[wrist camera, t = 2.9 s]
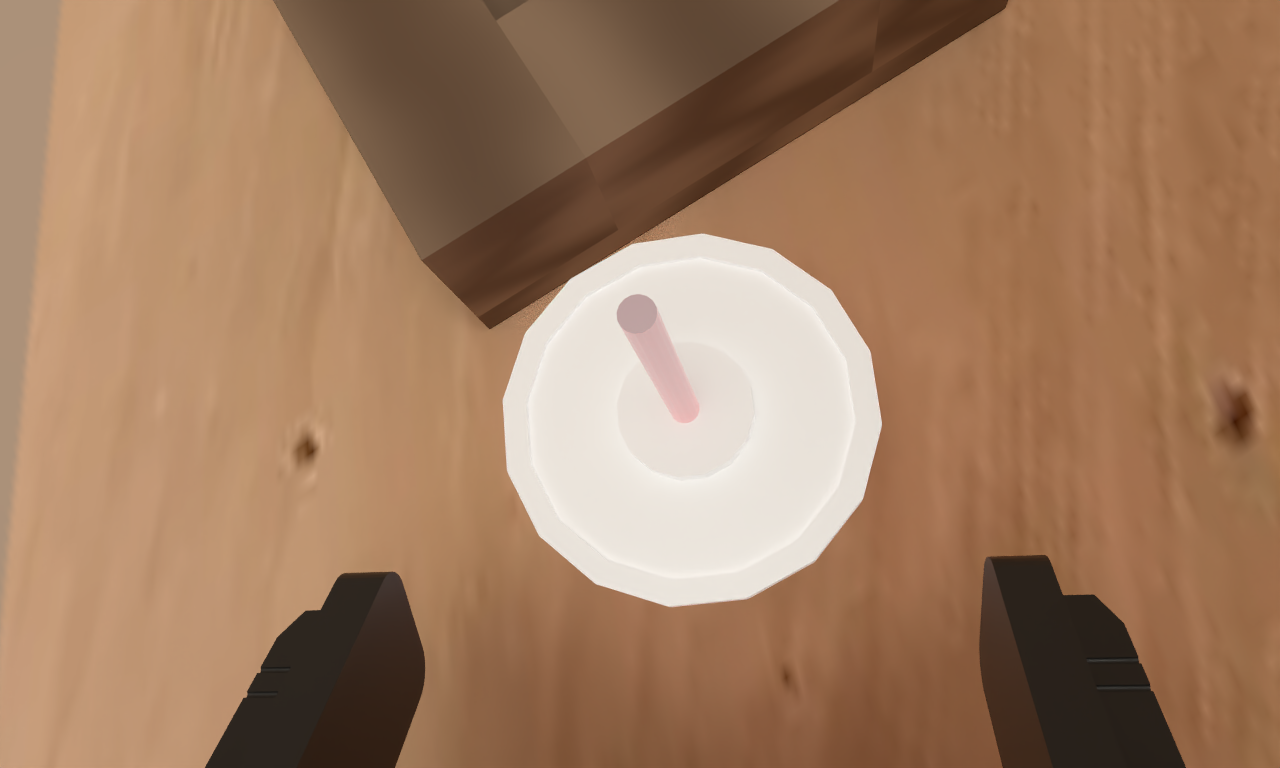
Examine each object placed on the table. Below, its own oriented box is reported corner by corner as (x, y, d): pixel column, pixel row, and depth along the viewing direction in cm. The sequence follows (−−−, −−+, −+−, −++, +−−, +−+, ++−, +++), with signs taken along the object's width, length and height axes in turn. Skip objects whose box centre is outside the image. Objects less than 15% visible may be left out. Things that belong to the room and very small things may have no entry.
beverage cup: (590, 608, 25) (339, 562, 11) (617, 364, 26) (421, 69, 13) (848, 634, 24) (904, 616, 10) (861, 379, 25) (925, 73, 12)
